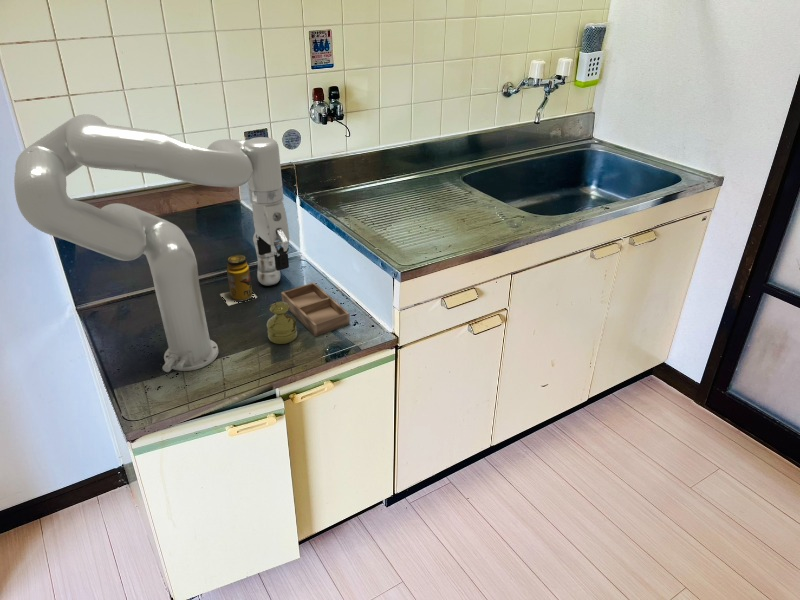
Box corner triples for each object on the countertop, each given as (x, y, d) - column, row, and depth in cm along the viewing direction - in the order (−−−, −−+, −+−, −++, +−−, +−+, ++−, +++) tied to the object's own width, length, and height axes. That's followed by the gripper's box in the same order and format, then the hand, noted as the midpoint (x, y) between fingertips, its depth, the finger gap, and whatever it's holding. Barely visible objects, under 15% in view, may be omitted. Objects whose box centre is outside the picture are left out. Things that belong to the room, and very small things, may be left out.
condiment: (257, 297, 171) (252, 260, 164) (228, 306, 167) (222, 268, 160) (248, 287, 176) (243, 250, 170) (219, 295, 172) (213, 257, 166)
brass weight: (297, 327, 158) (294, 294, 153) (297, 343, 151) (294, 310, 146) (268, 329, 157) (264, 296, 152) (267, 346, 150) (263, 312, 145)
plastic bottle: (260, 277, 181) (252, 216, 170) (282, 277, 181) (276, 215, 170) (256, 288, 175) (248, 225, 165) (279, 288, 175) (273, 225, 165)
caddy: (349, 324, 159) (349, 313, 157) (315, 336, 154) (314, 325, 152) (314, 293, 173) (314, 282, 171) (282, 303, 168) (281, 292, 166)
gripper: (298, 202, 132) (304, 271, 141) (265, 179, 144) (272, 244, 153) (267, 209, 128) (274, 279, 137) (235, 185, 140) (244, 251, 149)
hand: (273, 261), depth 145 cm, fingers open, 9 cm apart
